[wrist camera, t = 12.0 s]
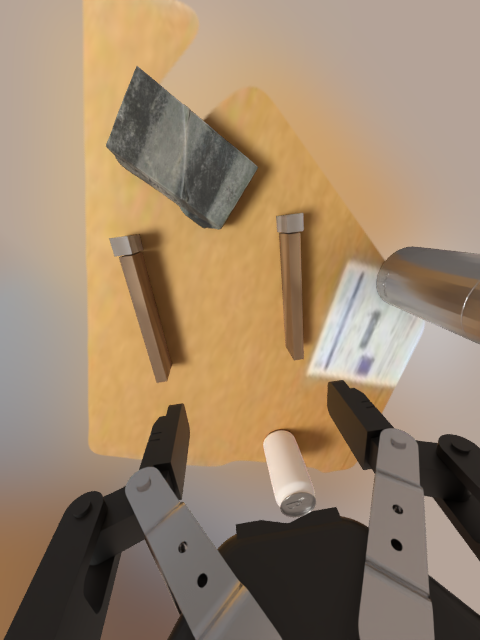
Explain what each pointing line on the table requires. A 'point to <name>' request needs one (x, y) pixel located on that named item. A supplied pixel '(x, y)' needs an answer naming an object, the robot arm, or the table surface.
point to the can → (289, 474)
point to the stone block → (178, 153)
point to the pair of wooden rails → (148, 310)
